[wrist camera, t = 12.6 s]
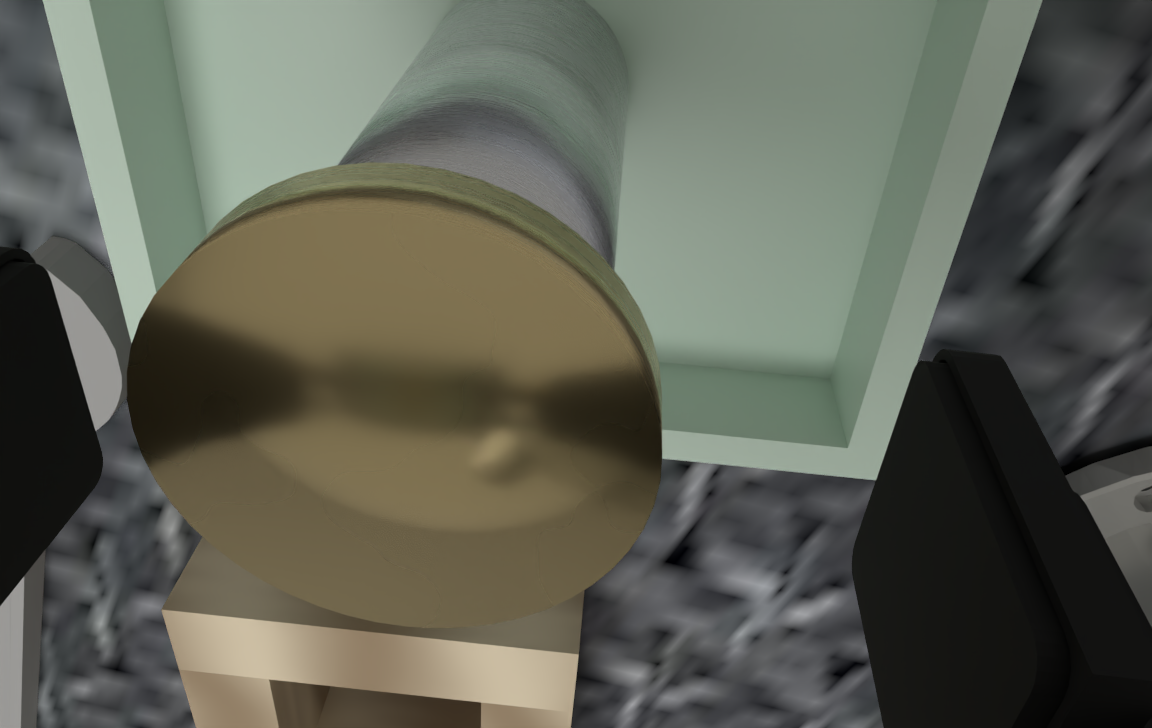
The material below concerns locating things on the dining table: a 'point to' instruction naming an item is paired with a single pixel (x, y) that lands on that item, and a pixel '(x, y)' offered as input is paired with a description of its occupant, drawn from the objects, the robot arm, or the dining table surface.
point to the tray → (649, 177)
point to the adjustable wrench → (101, 351)
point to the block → (359, 661)
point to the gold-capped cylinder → (423, 344)
